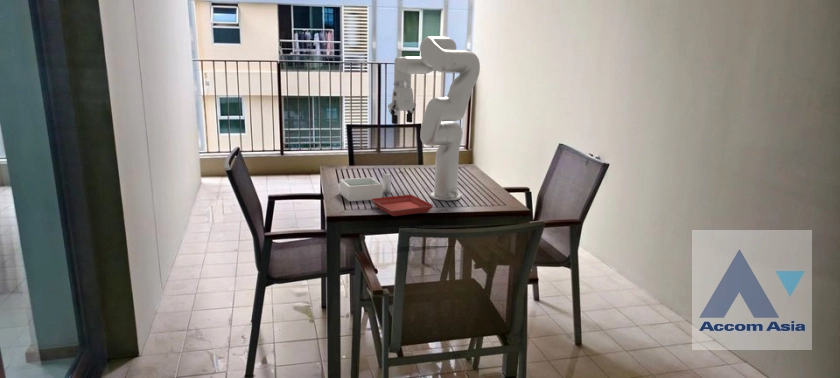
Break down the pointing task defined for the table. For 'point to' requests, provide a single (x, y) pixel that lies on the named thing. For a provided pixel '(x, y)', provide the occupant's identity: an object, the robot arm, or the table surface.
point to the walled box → (360, 189)
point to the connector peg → (386, 184)
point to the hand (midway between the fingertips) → (402, 123)
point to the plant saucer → (402, 205)
